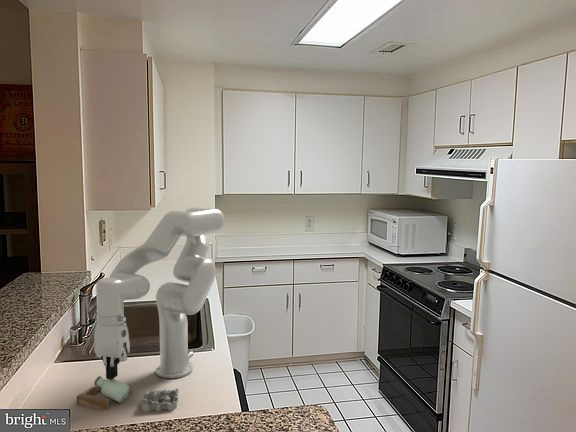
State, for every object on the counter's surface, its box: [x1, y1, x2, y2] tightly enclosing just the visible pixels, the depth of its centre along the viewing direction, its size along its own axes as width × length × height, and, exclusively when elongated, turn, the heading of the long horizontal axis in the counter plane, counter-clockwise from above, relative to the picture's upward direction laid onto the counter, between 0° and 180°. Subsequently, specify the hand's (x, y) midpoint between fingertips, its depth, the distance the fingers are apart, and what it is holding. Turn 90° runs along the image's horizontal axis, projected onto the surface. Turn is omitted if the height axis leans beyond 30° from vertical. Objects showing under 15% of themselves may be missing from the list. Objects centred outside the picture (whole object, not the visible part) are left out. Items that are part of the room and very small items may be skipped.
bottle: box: [93, 375, 130, 403], centre depth 138 cm, size 5×5×10 cm
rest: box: [76, 383, 132, 411], centre depth 140 cm, size 12×11×2 cm
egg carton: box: [140, 388, 179, 413], centre depth 136 cm, size 11×8×4 cm
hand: (111, 377), depth 138 cm, fingers closed
